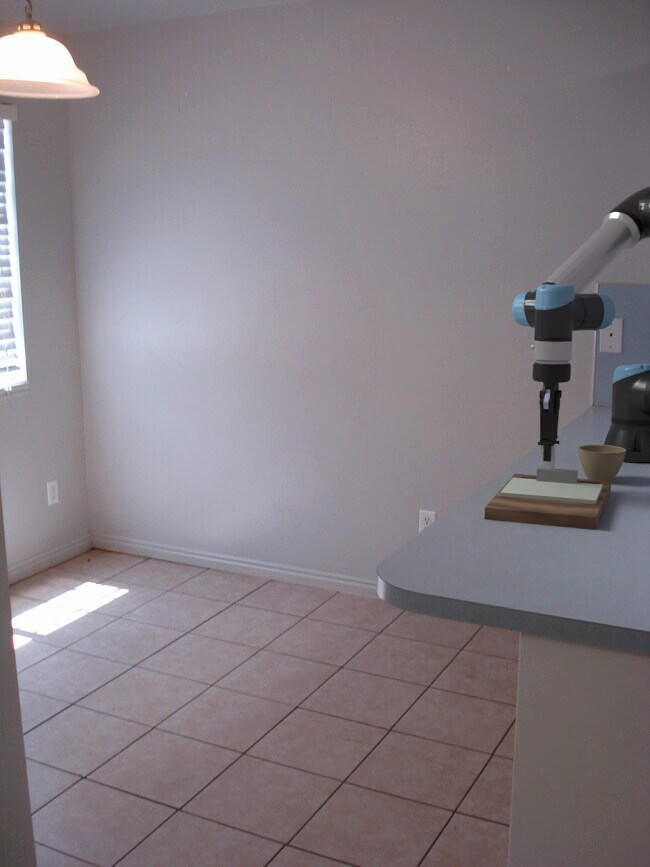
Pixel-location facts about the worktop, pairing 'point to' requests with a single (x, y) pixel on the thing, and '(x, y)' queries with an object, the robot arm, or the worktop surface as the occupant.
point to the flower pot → (601, 461)
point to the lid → (553, 487)
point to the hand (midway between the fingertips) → (547, 475)
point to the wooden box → (548, 508)
